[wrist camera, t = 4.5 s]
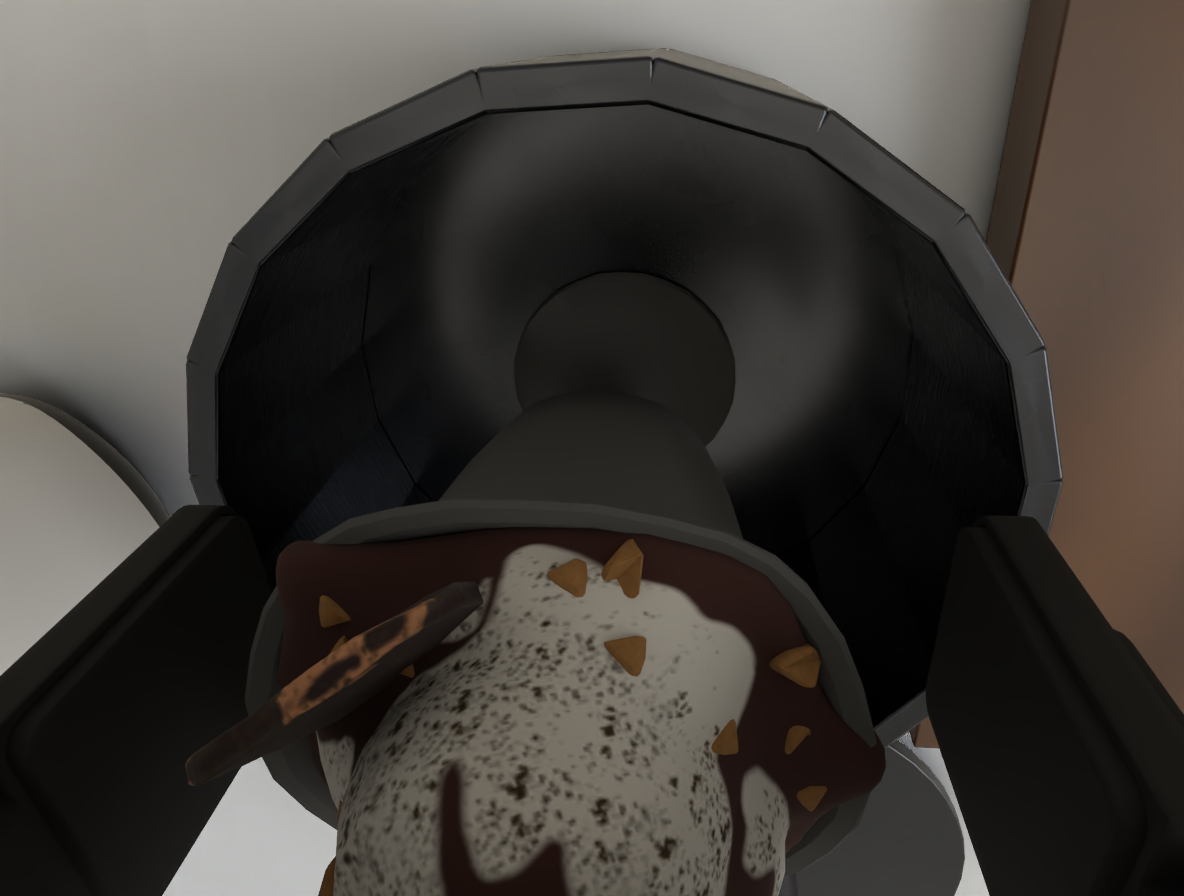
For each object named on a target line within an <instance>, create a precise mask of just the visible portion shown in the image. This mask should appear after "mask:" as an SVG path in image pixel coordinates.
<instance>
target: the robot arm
mask: <svg viewBox="0 0 1184 896" xmlns="http://www.w3.org/2000/svg"><path fill="white" fill-rule="evenodd" d="M271 594H272V591H271V588H270V585H269V582H268V579H267V576H266V573H265V570H264V567H263V564H262V562H261V559H260V556H259V553H258V550H257V547H256V544H255V541H254V538H253V535H252V532H251V530H250V527H249V524H248V522H247V521H246V520H245V519H244V518H243V517H240V516H238V514H237V513H236V511H235V510H234V509H233V508H232V507H229V506H226V505H188V506H184V507H182V508H180V509H179V510H178V511H177V512H175V513H174V514H173V515H172V516H171V517H170V518H169V519H168V520H167V521H166V522H165V523H164V524H163V525H162V526H160V527H159V528H158V529H157V530H156V531H155V532H154V533H153V534H152V535H151V536H150V537H149V538H148V539H146V540H145V541H144V542H143V543H142V544H141V545H140V546H139V547H138V548H137V549H136V550H135V551H134V552H133V553H131V554H130V555H129V556H128V557H127V558H126V559H125V560H124V561H123V562H122V563H121V564H120V565H119V566H118V567H116V568H115V569H114V570H113V571H112V572H111V573H110V574H109V575H108V576H107V577H106V578H105V579H104V580H103V581H101V582H100V583H99V584H98V585H97V586H96V587H95V588H94V589H93V590H92V591H91V592H90V593H89V594H87V595H86V596H85V597H84V598H83V599H82V600H81V601H80V602H79V603H78V604H77V605H76V606H75V607H74V608H72V609H71V610H70V611H69V612H68V613H67V614H66V615H65V616H64V617H63V618H62V619H61V620H60V621H59V622H57V623H56V624H55V625H54V626H53V627H52V628H51V629H50V630H49V631H48V632H47V633H46V634H45V635H44V636H42V637H41V638H40V639H39V640H38V641H37V642H36V643H35V644H34V645H33V646H32V647H31V648H30V649H28V650H27V651H26V652H25V653H24V654H23V655H22V656H21V657H20V658H19V659H18V660H17V661H16V662H15V663H13V664H12V665H11V666H10V667H9V668H8V669H7V670H6V671H5V672H4V673H3V674H2V675H1V676H0V896H162V895H163V893H164V892H165V890H166V888H167V887H168V885H169V884H170V882H171V880H172V879H173V877H174V875H175V874H176V872H177V871H178V869H179V867H180V866H181V864H182V862H183V861H184V859H185V857H186V856H187V854H188V853H189V851H190V849H191V848H192V846H193V844H194V843H195V841H196V840H197V838H198V836H199V835H200V833H201V831H202V830H203V828H204V827H205V825H206V823H207V822H208V820H209V818H210V817H211V815H212V813H213V812H214V810H215V809H216V807H217V805H218V804H219V802H220V800H221V799H222V797H223V796H224V794H225V792H226V791H227V789H228V787H229V786H230V784H231V783H232V781H233V779H234V778H235V776H236V774H237V773H238V771H239V770H240V768H241V767H239V768H237V769H235V770H233V771H231V772H229V773H226V774H224V775H222V776H220V777H217V778H215V779H213V780H211V781H209V782H207V783H205V784H203V785H201V786H192V785H189V783H188V778H187V772H186V767H185V764H186V762H187V760H188V759H189V758H190V757H191V756H192V754H193V753H194V752H196V751H197V750H199V749H200V748H202V747H203V746H205V745H206V744H208V743H209V742H211V741H212V740H213V739H215V738H216V737H218V736H219V735H221V734H222V733H224V732H225V731H227V730H228V729H230V728H231V727H233V726H234V725H236V724H237V723H239V722H241V721H242V720H244V719H245V718H247V717H248V712H247V708H246V704H245V691H246V683H247V675H248V667H249V659H250V652H251V648H252V644H253V641H254V638H255V634H256V631H257V627H258V624H259V621H260V617H261V614H262V610H263V608H264V606H265V604H266V603H267V601H268V599H269V597H270V596H271ZM926 706H927V712H928V715H929V719H930V722H931V725H932V728H933V731H934V733H935V736H936V739H937V742H938V745H939V748H940V751H941V754H942V757H943V760H944V763H945V766H946V769H947V772H948V774H949V777H950V780H951V783H952V786H953V789H954V792H955V795H956V798H957V801H958V804H959V807H960V810H961V813H962V815H963V818H964V821H965V824H966V827H967V830H968V833H969V836H970V839H971V842H972V845H973V848H974V851H975V854H976V856H977V859H978V862H979V865H980V868H981V871H982V874H983V877H984V880H985V883H986V886H987V889H988V892H989V895H990V896H1184V714H1183V713H1182V711H1181V710H1180V708H1179V707H1178V706H1177V704H1176V703H1175V701H1174V700H1173V699H1172V697H1171V696H1170V694H1169V693H1168V692H1167V690H1166V689H1165V687H1164V686H1163V685H1162V683H1161V682H1160V680H1159V679H1158V678H1157V676H1156V675H1155V673H1154V672H1153V671H1152V669H1151V668H1150V666H1149V665H1148V664H1147V662H1146V661H1145V659H1144V658H1143V657H1142V655H1141V654H1140V652H1139V651H1138V650H1137V648H1136V647H1135V645H1134V644H1133V643H1132V642H1131V641H1130V640H1129V639H1128V638H1127V637H1126V636H1125V635H1124V634H1123V633H1121V632H1119V631H1117V630H1115V629H1113V628H1112V627H1111V625H1110V624H1109V622H1108V621H1107V620H1106V618H1105V617H1104V615H1103V614H1102V612H1101V611H1100V610H1099V608H1098V607H1097V605H1096V604H1095V602H1094V601H1093V600H1092V598H1091V597H1090V595H1089V594H1088V592H1087V591H1086V590H1085V588H1084V587H1083V585H1082V584H1081V582H1080V581H1079V580H1078V578H1077V577H1076V575H1075V574H1074V572H1073V571H1072V569H1071V568H1070V567H1069V565H1068V564H1067V562H1066V561H1065V559H1064V558H1063V557H1062V555H1061V554H1060V552H1059V551H1058V549H1057V548H1056V547H1055V545H1054V544H1053V542H1052V541H1051V539H1050V538H1049V537H1048V535H1047V534H1046V532H1045V531H1044V529H1043V528H1042V527H1041V525H1040V524H1039V522H1038V521H1037V520H1036V519H1035V518H1033V517H1030V516H980V517H978V518H977V520H976V521H975V523H974V526H973V527H963V528H961V530H960V531H959V533H958V536H957V540H956V545H955V550H954V555H953V559H952V564H951V569H950V574H949V579H948V583H947V588H946V593H945V598H944V602H943V607H942V612H941V617H940V621H939V626H938V631H937V636H936V641H935V645H934V650H933V655H932V660H931V664H930V669H929V674H928V679H927V683H926Z"/></svg>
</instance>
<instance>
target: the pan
mask: <svg viewBox="0 0 1184 896" xmlns="http://www.w3.org/2000/svg"><path fill="white" fill-rule="evenodd" d="M614 272H629V273H645V274H648V275H651V276H654V277H657V278H660V279H663V280H666V281H668V282H670V283H673V284H675V285H677V286H679V287H681V288H683V289H685V290H687V291H689V292H690V293H691V294H692V295H693V296H694V297H695V298H697V299H698V300H699V301H700V302H701V303H702V304H704V305H705V306H706V308H707V309H708V310H709V311H710V312H711V313H712V314H713V315H714V317H715V318H716V319H717V320H718V321H719V322H720V324H721V326H722V328H723V330H724V333H725V335H726V337H727V339H728V341H729V344H730V347H731V350H732V353H733V356H734V360H735V378H736V383H735V391H734V399H733V404H732V406H731V409H730V411H729V413H728V415H727V418H726V420H725V422H724V423H723V425H722V427H721V428H720V430H719V432H718V433H717V435H716V437H715V438H714V439H713V440H712V441H711V442H710V443H709V444H708V445H707V446H706V449H707V451H708V453H709V455H710V457H711V459H712V461H713V462H714V464H715V466H716V468H717V470H718V472H719V474H720V476H721V478H722V480H723V482H724V485H725V487H726V489H727V492H728V494H729V496H730V499H731V503H732V506H733V509H734V512H735V515H736V518H737V521H738V524H739V527H740V531H741V534H742V537H743V539H744V540H746V541H748V542H750V543H752V544H754V545H756V546H758V547H760V548H762V549H764V550H766V551H768V552H770V553H772V554H774V555H776V556H777V557H778V558H779V559H780V560H782V561H783V562H784V563H785V564H786V565H787V566H788V567H789V568H790V569H792V570H793V571H794V572H795V573H796V574H797V575H798V576H799V577H800V578H802V579H803V580H804V581H805V582H806V583H807V584H808V586H809V587H810V589H811V590H812V591H813V593H814V594H815V596H816V597H817V599H818V600H819V602H820V603H821V604H822V606H823V607H824V609H825V610H826V612H827V613H828V615H829V616H830V617H831V619H832V620H833V622H834V623H835V625H836V626H837V628H838V629H839V630H840V632H841V633H842V635H843V636H844V638H845V640H846V643H847V646H848V648H849V651H850V653H851V656H852V659H853V661H854V664H855V666H856V669H857V672H858V674H859V677H860V679H861V682H862V684H863V688H864V692H865V696H866V700H867V704H868V708H869V712H870V716H871V720H872V724H873V729H874V731H875V732H876V733H877V735H878V737H879V739H880V740H881V742H882V744H883V746H884V748H886V747H888V746H889V745H890V744H892V743H893V742H894V741H896V740H897V739H899V738H900V737H901V736H903V735H904V734H905V733H907V732H908V731H909V730H911V729H912V728H914V727H915V726H916V725H918V724H919V723H920V722H922V721H923V720H924V719H926V718H927V717H928V716H929V715H928V712H927V706H926V683H927V679H928V674H929V669H930V664H931V660H932V655H933V650H934V645H935V641H936V636H937V631H938V626H939V621H940V617H941V612H942V607H943V602H944V598H945V593H946V588H947V583H948V579H949V574H950V569H951V564H952V559H953V555H954V550H955V545H956V540H957V536H958V533H959V531H960V530H961V528H963V527H973V526H974V523H975V521H976V520H977V518H978V517H980V516H1030V517H1033V518H1035V519H1036V520H1037V521H1038V522H1039V524H1040V525H1041V527H1042V528H1043V529H1044V531H1045V532H1046V534H1047V535H1049V532H1050V528H1051V525H1052V521H1053V517H1054V514H1055V510H1056V506H1057V503H1058V499H1059V496H1060V492H1061V488H1062V485H1063V481H1062V479H1063V469H1062V461H1061V454H1060V446H1059V438H1058V431H1057V423H1056V415H1055V407H1054V400H1053V392H1052V384H1051V377H1050V369H1049V361H1048V354H1047V348H1046V347H1045V346H1044V345H1045V341H1044V339H1043V337H1042V336H1041V334H1040V332H1039V331H1038V329H1037V327H1036V326H1035V324H1034V322H1033V321H1032V319H1031V317H1030V316H1029V314H1028V312H1027V310H1026V309H1025V307H1024V305H1023V304H1022V302H1021V300H1020V299H1019V297H1018V295H1017V294H1016V292H1015V290H1014V289H1013V287H1012V285H1011V283H1010V282H1009V280H1008V278H1007V277H1006V275H1005V273H1004V272H1003V270H1002V268H1001V267H1000V265H999V263H998V262H997V260H996V258H995V257H994V255H993V253H992V251H991V250H990V248H989V246H988V245H987V243H986V241H985V240H984V238H983V236H982V235H981V233H980V231H979V230H978V228H977V226H976V224H975V223H974V221H973V219H972V218H971V216H970V215H969V214H967V213H966V212H965V210H964V208H962V207H961V206H960V205H958V204H957V203H956V202H954V201H953V200H952V199H950V198H949V197H948V196H946V195H945V194H944V193H942V192H941V191H940V190H939V189H937V188H936V187H935V186H933V185H932V184H931V183H929V182H928V181H927V180H925V179H924V178H923V177H921V176H920V175H919V174H917V173H916V172H915V171H913V170H912V169H911V168H910V167H908V166H907V165H906V164H904V163H903V162H902V161H900V160H899V159H898V158H896V157H895V156H894V155H892V154H891V153H890V152H888V151H887V150H886V149H885V148H883V147H882V146H881V145H879V144H878V143H877V142H875V141H874V140H873V139H871V138H870V137H869V136H867V135H866V134H865V133H863V132H862V131H861V130H860V129H858V128H857V127H856V126H854V125H853V124H852V123H850V122H849V121H848V120H846V119H845V118H844V117H842V116H841V115H840V114H838V113H837V112H836V111H834V110H833V109H831V108H829V107H827V106H825V105H823V104H821V103H819V102H817V101H815V100H813V99H812V98H810V97H808V96H806V95H804V94H802V93H800V92H798V91H796V90H794V89H792V88H790V87H788V86H786V85H785V84H783V83H781V82H778V81H777V80H775V79H772V78H768V77H765V76H761V75H758V74H755V73H751V72H748V71H744V70H741V69H738V68H734V67H731V66H728V65H724V64H721V63H717V62H714V61H711V60H707V59H704V58H700V57H697V56H694V55H690V54H687V53H684V52H680V51H677V50H673V49H668V50H667V49H665V48H660V49H645V50H631V51H616V52H602V53H587V54H573V55H559V56H552V57H545V58H538V59H532V60H525V61H518V62H511V63H504V64H498V65H491V66H484V67H480V68H478V69H471V70H469V71H466V72H464V73H462V74H460V75H458V76H456V77H453V78H451V79H449V80H447V81H445V82H443V83H441V84H438V85H436V86H434V87H432V88H430V89H428V90H425V91H423V92H421V93H419V94H417V95H415V96H412V97H410V98H408V99H406V100H404V101H402V102H400V103H397V104H395V105H393V106H391V107H389V108H387V109H384V110H382V111H380V112H378V113H376V114H374V115H372V116H369V117H367V118H365V119H363V120H361V121H359V122H356V123H354V124H352V125H350V126H348V127H346V128H344V129H341V130H339V131H337V132H335V133H333V134H331V136H330V137H329V138H327V139H324V140H323V141H322V142H321V143H320V144H319V146H318V147H317V148H316V149H315V150H314V151H313V152H312V153H311V154H310V155H309V156H308V157H307V158H306V160H305V161H304V162H303V163H302V164H301V165H300V166H299V167H298V168H297V169H296V170H295V171H294V172H293V173H292V175H291V176H290V177H289V178H288V179H287V180H286V181H285V182H284V183H283V184H282V185H281V186H280V187H279V189H278V190H277V191H276V192H275V193H274V194H273V195H272V196H271V197H270V198H269V199H268V200H267V201H266V203H265V204H264V205H263V206H262V207H261V208H260V209H259V210H258V211H257V212H256V213H255V214H254V215H253V216H252V218H251V219H250V220H249V221H248V222H247V223H246V224H245V225H244V226H243V227H242V228H241V229H240V230H239V232H238V233H237V234H236V235H235V236H234V237H233V239H232V242H230V243H229V244H228V247H227V250H226V252H225V255H224V258H223V261H222V263H221V266H220V269H219V271H218V274H217V277H216V279H215V282H214V285H213V288H212V290H211V293H210V296H209V298H208V301H207V304H206V307H205V309H204V312H203V315H202V317H201V320H200V323H199V326H198V328H197V331H196V334H195V336H194V339H193V342H192V345H191V347H190V350H189V353H188V355H187V360H188V361H187V363H186V374H187V419H188V464H189V474H190V480H191V483H192V485H193V488H194V491H195V494H196V496H197V499H198V502H199V504H200V505H226V506H229V507H232V508H233V509H234V510H235V511H236V513H237V514H238V516H240V517H243V518H244V519H245V520H246V521H247V522H248V524H249V527H250V530H251V532H252V535H253V538H254V541H255V544H256V547H257V550H258V553H259V556H260V559H261V562H262V564H263V567H264V570H265V573H266V576H267V579H268V582H269V585H270V588H271V591H272V592H273V591H274V589H275V587H276V586H277V583H276V566H277V560H278V557H279V555H280V553H281V552H282V551H283V550H284V549H285V548H286V547H287V546H288V545H290V544H291V543H293V542H296V541H304V540H310V541H314V540H315V539H316V538H318V537H320V536H322V535H323V534H325V533H327V532H328V531H330V530H332V529H333V528H335V527H337V526H338V525H340V524H342V523H343V522H345V521H347V520H349V519H350V518H354V517H358V516H362V515H367V514H371V513H375V512H379V511H383V510H387V509H391V508H396V507H403V506H409V505H416V504H422V503H428V502H435V501H438V500H439V499H440V498H441V497H442V495H443V494H444V493H445V492H446V490H447V489H448V488H449V487H450V486H451V484H452V483H453V482H454V481H455V479H456V478H457V477H458V476H459V474H460V473H461V472H462V471H463V469H464V468H465V467H466V466H467V465H468V463H469V462H470V461H471V460H472V459H473V458H474V457H475V456H476V455H477V454H478V453H479V452H480V451H481V450H482V449H483V448H484V447H485V446H486V445H487V444H488V443H489V442H490V441H491V440H492V439H493V438H494V437H495V436H496V435H497V434H498V433H499V432H500V431H501V430H502V429H503V428H505V427H506V426H507V425H508V424H509V423H510V422H511V421H512V420H514V419H515V418H516V417H517V416H518V415H519V414H520V413H521V412H523V410H522V408H521V406H520V404H519V401H518V398H517V392H516V386H515V377H514V359H515V355H516V351H517V347H518V344H519V340H520V338H521V336H522V333H523V331H524V328H525V326H526V324H527V322H528V320H529V319H530V318H531V317H532V316H533V314H534V313H535V312H536V311H537V309H538V308H539V307H540V306H541V305H542V304H543V303H544V302H545V301H546V300H547V299H548V298H550V297H551V296H552V295H553V294H554V293H555V292H556V291H558V290H560V289H562V288H564V287H566V286H568V285H570V284H572V283H574V282H576V281H578V280H581V279H584V278H587V277H590V276H592V275H595V274H600V273H614Z"/></svg>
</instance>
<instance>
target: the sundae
mask: <svg viewBox="0 0 1184 896" xmlns="http://www.w3.org/2000/svg"><path fill="white" fill-rule="evenodd" d="M514 377H515V386H516V392H517V398H518V401H519V404H520V406H521V408H522V410H523V412H521V413H520V414H519V415H518V416H517V417H516V418H515V419H514V420H512V421H511V422H510V423H509V424H508V425H507V426H506V427H505V428H503V429H502V430H501V431H500V432H499V433H498V434H497V435H496V436H495V437H494V438H493V439H492V440H491V441H490V442H489V443H488V444H487V445H486V446H485V447H484V448H483V449H482V450H481V451H480V452H479V453H478V454H477V455H476V456H475V457H474V458H473V459H472V460H471V461H470V462H469V463H468V465H467V466H466V467H465V468H464V469H463V471H462V472H461V473H460V474H459V476H458V477H457V478H456V479H455V481H454V482H453V483H452V484H451V486H450V487H449V488H448V489H447V490H446V492H445V493H444V494H443V495H442V497H441V498H440V499H439V500H438V501H435V502H428V503H422V504H416V505H409V506H403V507H396V508H391V509H387V510H383V511H379V512H375V513H371V514H367V515H362V516H358V517H354V518H350V519H349V520H347V521H345V522H343V523H342V524H340V525H338V526H337V527H335V528H333V529H332V530H330V531H328V532H327V533H325V534H323V535H322V536H320V537H318V538H316V539H315V540H314V541H310V540H304V541H296V542H293V543H291V544H290V545H288V546H287V547H286V548H285V549H284V550H283V551H282V552H281V553H280V555H279V557H278V560H277V566H276V583H277V586H276V587H275V589H274V591H273V592H272V594H271V596H270V597H269V599H268V601H267V603H266V604H265V606H264V608H263V610H262V614H261V617H260V621H259V624H258V627H257V631H256V634H255V638H254V641H253V644H252V648H251V652H250V659H249V667H248V675H247V683H246V691H245V704H246V708H247V712H248V717H247V718H245V719H244V720H242V721H241V722H239V723H237V724H236V725H234V726H233V727H231V728H230V729H228V730H227V731H225V732H224V733H222V734H221V735H219V736H218V737H216V738H215V739H213V740H212V741H211V742H209V743H208V744H206V745H205V746H203V747H202V748H200V749H199V750H197V751H196V752H194V753H193V754H192V756H191V757H190V758H189V759H188V760H187V762H186V764H185V767H186V772H187V778H188V783H189V785H192V786H201V785H203V784H205V783H207V782H209V781H211V780H213V779H215V778H217V777H220V776H222V775H224V774H226V773H229V772H231V771H233V770H235V769H237V768H239V767H241V766H243V765H245V764H247V763H249V762H252V761H254V760H256V759H258V758H260V757H262V758H263V760H264V762H265V764H266V766H267V767H268V769H269V771H270V773H271V775H272V777H273V779H274V780H275V781H276V782H277V783H278V784H279V785H280V786H282V787H283V788H284V789H285V790H286V791H287V792H288V793H289V794H290V795H291V796H292V797H293V798H295V799H296V800H297V801H298V802H299V803H300V804H301V805H302V806H303V807H304V808H305V809H306V810H308V811H309V812H311V813H312V814H314V815H315V816H317V817H318V818H320V819H321V820H323V821H324V822H326V823H327V824H329V825H330V826H332V827H333V828H335V829H337V830H338V832H337V847H336V857H335V858H334V859H333V860H332V861H331V863H330V864H329V865H328V867H327V869H326V871H325V874H324V878H323V881H322V885H321V888H320V892H319V895H318V896H778V894H779V891H780V888H781V884H782V881H783V877H786V876H788V875H790V874H793V873H795V872H798V871H800V870H802V869H805V868H807V867H809V866H810V865H812V864H813V863H815V862H817V861H818V860H820V859H821V858H823V857H825V856H826V855H828V854H829V853H831V852H832V851H833V850H834V849H835V848H836V847H838V846H839V845H840V844H841V843H842V842H843V841H844V840H845V839H846V838H847V837H848V836H849V835H850V834H851V833H852V832H853V831H854V830H855V829H856V828H857V827H858V826H859V824H860V821H861V818H862V815H863V812H864V809H865V806H866V804H867V801H868V798H869V795H870V792H871V791H872V790H873V789H874V788H875V787H876V786H877V785H878V784H879V783H880V782H881V779H882V777H883V774H884V772H885V768H886V760H885V748H884V746H883V744H882V742H881V740H880V739H879V737H878V735H877V733H876V732H875V731H874V729H873V724H872V720H871V716H870V712H869V708H868V704H867V700H866V696H865V692H864V688H863V684H862V682H861V679H860V677H859V674H858V672H857V669H856V666H855V664H854V661H853V659H852V656H851V653H850V651H849V648H848V646H847V643H846V640H845V638H844V636H843V635H842V633H841V632H840V630H839V629H838V628H837V626H836V625H835V623H834V622H833V620H832V619H831V617H830V616H829V615H828V613H827V612H826V610H825V609H824V607H823V606H822V604H821V603H820V602H819V600H818V599H817V597H816V596H815V594H814V593H813V591H812V590H811V589H810V587H809V586H808V584H807V583H806V582H805V581H804V580H803V579H802V578H800V577H799V576H798V575H797V574H796V573H795V572H794V571H793V570H792V569H790V568H789V567H788V566H787V565H786V564H785V563H784V562H783V561H782V560H780V559H779V558H778V557H777V556H776V555H774V554H772V553H770V552H768V551H766V550H764V549H762V548H760V547H758V546H756V545H754V544H752V543H750V542H748V541H746V540H744V539H743V537H742V534H741V531H740V527H739V524H738V521H737V518H736V515H735V512H734V509H733V506H732V503H731V499H730V496H729V494H728V492H727V489H726V487H725V485H724V482H723V480H722V478H721V476H720V474H719V472H718V470H717V468H716V466H715V464H714V462H713V461H712V459H711V457H710V455H709V453H708V451H707V449H706V446H707V445H708V444H709V443H710V442H711V441H712V440H713V439H714V438H715V437H716V435H717V433H718V432H719V430H720V428H721V427H722V425H723V423H724V422H725V420H726V418H727V415H728V413H729V411H730V409H731V406H732V404H733V399H734V391H735V383H736V378H735V360H734V356H733V353H732V350H731V347H730V344H729V341H728V339H727V337H726V335H725V333H724V330H723V328H722V326H721V324H720V322H719V321H718V320H717V319H716V318H715V317H714V315H713V314H712V313H711V312H710V311H709V310H708V309H707V308H706V306H705V305H704V304H702V303H701V302H700V301H699V300H698V299H697V298H695V297H694V296H693V295H692V294H691V293H690V292H689V291H687V290H685V289H683V288H681V287H679V286H677V285H675V284H673V283H670V282H668V281H666V280H663V279H660V278H657V277H654V276H651V275H648V274H645V273H629V272H614V273H600V274H595V275H592V276H590V277H587V278H584V279H581V280H578V281H576V282H574V283H572V284H570V285H568V286H566V287H564V288H562V289H560V290H558V291H556V292H555V293H554V294H553V295H552V296H551V297H550V298H548V299H547V300H546V301H545V302H544V303H543V304H542V305H541V306H540V307H539V308H538V309H537V311H536V312H535V313H534V314H533V316H532V317H531V318H530V319H529V320H528V322H527V324H526V326H525V328H524V331H523V333H522V336H521V338H520V340H519V344H518V347H517V351H516V355H515V359H514Z"/></svg>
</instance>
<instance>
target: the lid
mask: <svg viewBox="0 0 1184 896" xmlns="http://www.w3.org/2000/svg"><path fill="white" fill-rule="evenodd" d="M885 760H886V768H885V772H884V774H883V777H882V779H881V782H880V783H879V784H878V785H877V786H876V787H875V788H874V789H873V790H872V791H871V792H870V795H869V798H868V801H867V804H866V806H865V809H864V812H863V815H862V818H861V821H860V824H859V826H858V827H857V828H856V829H855V830H854V831H853V832H852V833H851V834H850V835H849V836H848V837H847V838H846V839H845V840H844V841H843V842H842V843H841V844H840V845H839V846H838V847H836V848H835V849H834V850H833V851H832V852H831V853H829V854H828V855H826V856H825V857H823V858H821V859H820V860H818V861H817V862H815V863H813V864H812V865H810V866H809V867H807V868H805V869H802V870H800V871H798V872H795V873H793V874H790V875H788V876H786V877H783V881H782V884H781V888H780V891H779V894H778V896H954V895H955V893H956V890H957V888H958V885H959V883H960V880H961V877H962V871H963V865H964V860H965V854H964V838H963V834H962V831H961V827H960V824H959V820H958V817H957V814H956V811H955V808H954V806H953V804H952V802H951V800H950V798H949V796H948V794H947V792H946V790H945V788H944V786H943V785H942V784H941V783H940V781H939V780H938V779H937V777H936V776H935V775H934V774H933V772H932V771H931V770H930V768H929V767H928V766H927V765H926V764H925V763H924V762H923V761H922V760H920V759H919V758H918V757H917V756H916V755H915V754H914V753H913V752H912V751H911V750H910V749H909V748H907V747H906V746H904V745H903V744H902V743H900V742H899V741H897V740H896V741H894V742H893V743H892V744H890V745H889V746H888V747H886V748H885Z"/></svg>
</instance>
